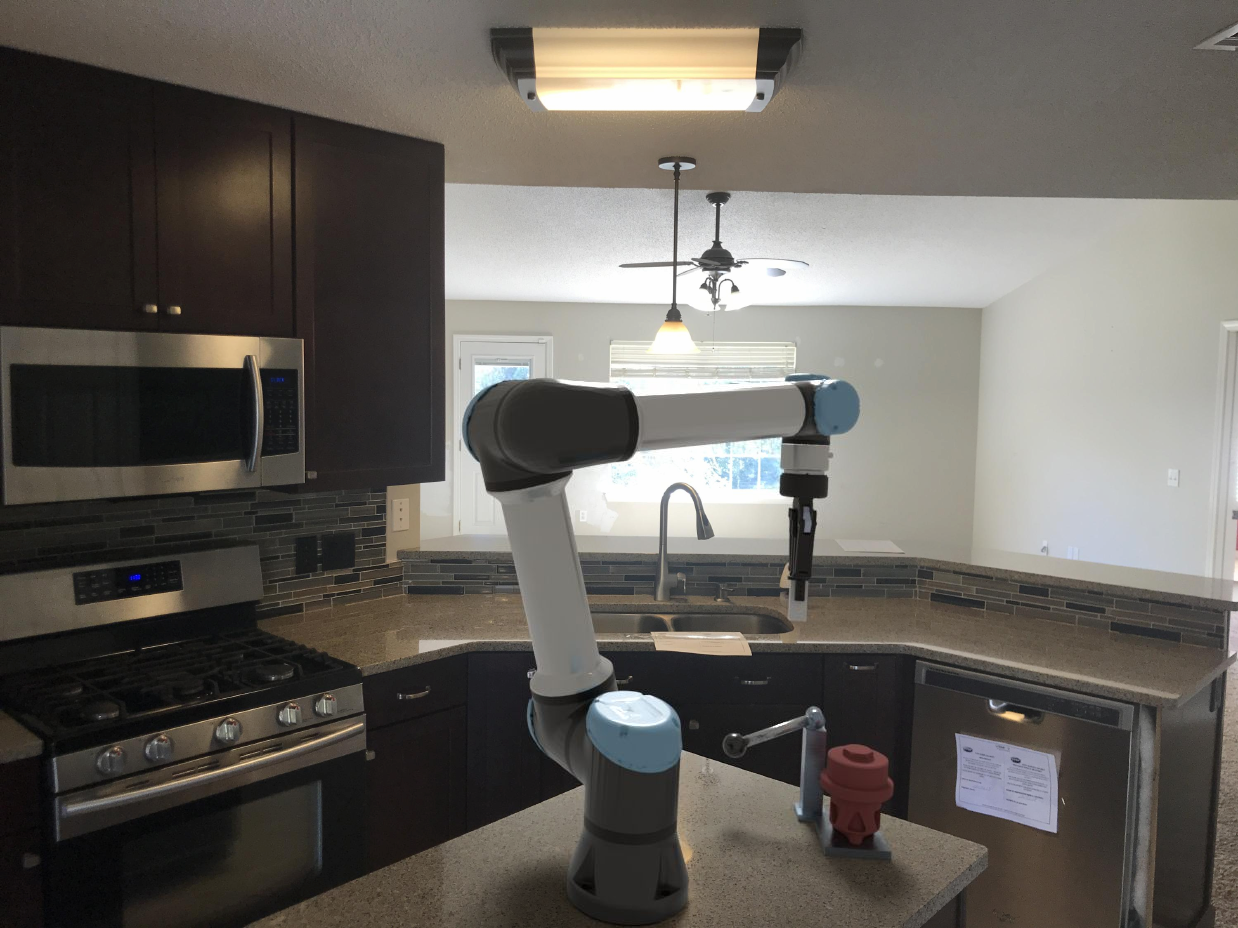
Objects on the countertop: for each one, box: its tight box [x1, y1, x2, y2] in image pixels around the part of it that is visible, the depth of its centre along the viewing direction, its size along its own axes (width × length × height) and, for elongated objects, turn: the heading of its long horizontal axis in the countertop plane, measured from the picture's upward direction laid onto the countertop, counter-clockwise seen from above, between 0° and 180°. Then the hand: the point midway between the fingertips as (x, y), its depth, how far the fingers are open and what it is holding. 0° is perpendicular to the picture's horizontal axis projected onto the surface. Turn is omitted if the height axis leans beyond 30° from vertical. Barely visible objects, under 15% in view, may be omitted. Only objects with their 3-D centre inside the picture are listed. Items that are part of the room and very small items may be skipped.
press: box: [793, 725, 893, 861], centre depth 123 cm, size 11×15×14 cm
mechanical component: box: [820, 743, 894, 845], centre depth 120 cm, size 12×10×10 cm
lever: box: [722, 706, 826, 759], centre depth 128 cm, size 16×4×4 cm, turn 86°
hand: (797, 619), depth 134 cm, fingers closed
